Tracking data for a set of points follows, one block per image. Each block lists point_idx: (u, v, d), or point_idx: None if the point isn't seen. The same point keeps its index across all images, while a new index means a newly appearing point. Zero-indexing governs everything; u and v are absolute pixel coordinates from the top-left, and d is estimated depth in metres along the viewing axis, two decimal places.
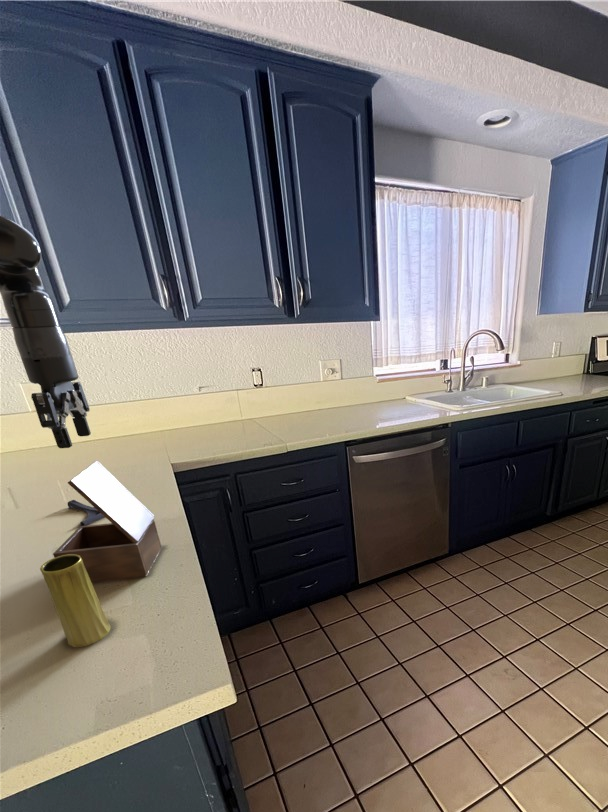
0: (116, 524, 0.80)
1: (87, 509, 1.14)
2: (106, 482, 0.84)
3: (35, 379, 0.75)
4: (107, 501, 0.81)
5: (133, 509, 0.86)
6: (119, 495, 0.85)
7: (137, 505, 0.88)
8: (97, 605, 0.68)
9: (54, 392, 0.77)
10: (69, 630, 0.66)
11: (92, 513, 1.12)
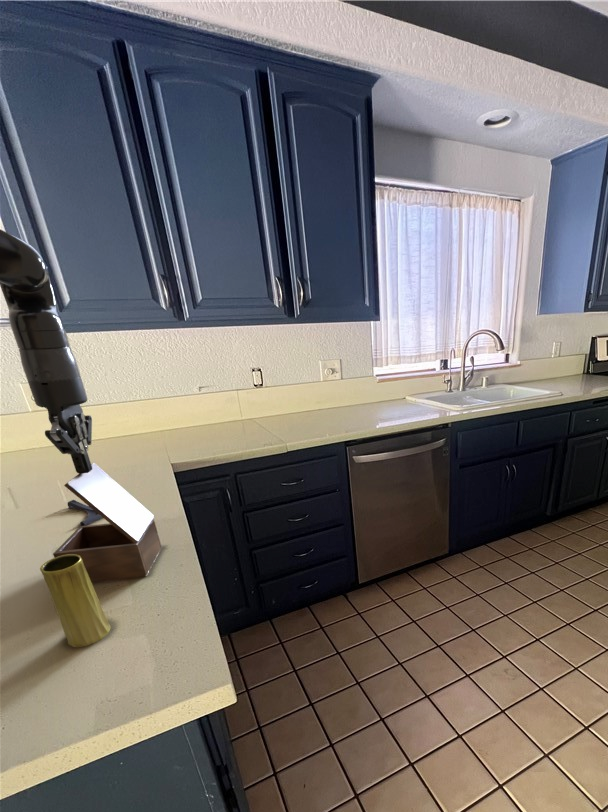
0: (115, 525, 0.80)
1: (87, 509, 1.14)
2: (104, 484, 0.84)
3: (42, 403, 0.71)
4: (105, 502, 0.81)
5: (132, 510, 0.86)
6: (118, 496, 0.85)
7: (136, 506, 0.88)
8: (97, 605, 0.68)
9: (63, 420, 0.72)
10: (69, 630, 0.66)
11: (92, 513, 1.12)
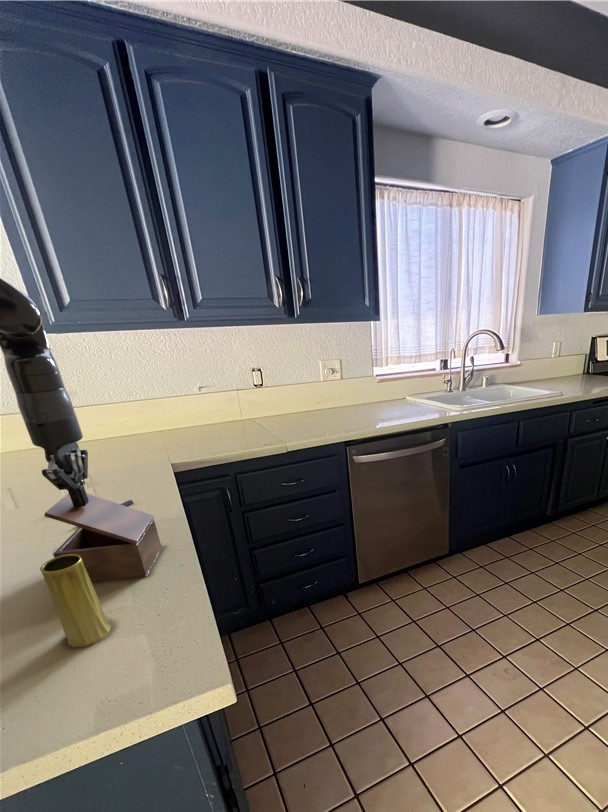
0: (108, 534, 0.80)
1: None
2: (88, 503, 0.85)
3: (38, 443, 0.73)
4: (92, 518, 0.81)
5: (126, 516, 0.87)
6: (107, 509, 0.86)
7: (130, 512, 0.89)
8: (97, 605, 0.68)
9: (59, 458, 0.75)
10: (69, 630, 0.66)
11: None
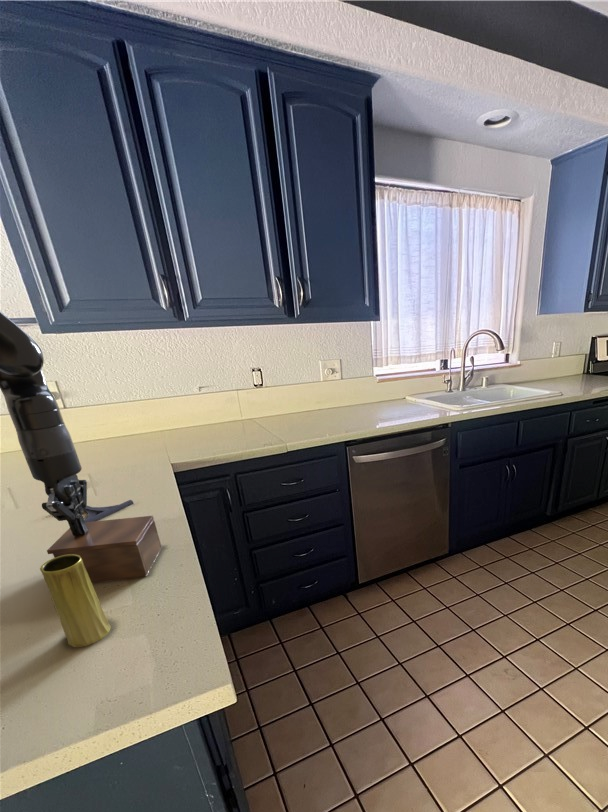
0: (108, 545, 0.81)
1: (87, 509, 1.14)
2: (88, 529, 0.87)
3: (39, 477, 0.76)
4: (92, 538, 0.83)
5: (124, 526, 0.88)
6: (106, 527, 0.87)
7: (129, 521, 0.89)
8: (97, 605, 0.68)
9: (58, 491, 0.77)
10: (69, 630, 0.66)
11: (92, 513, 1.12)
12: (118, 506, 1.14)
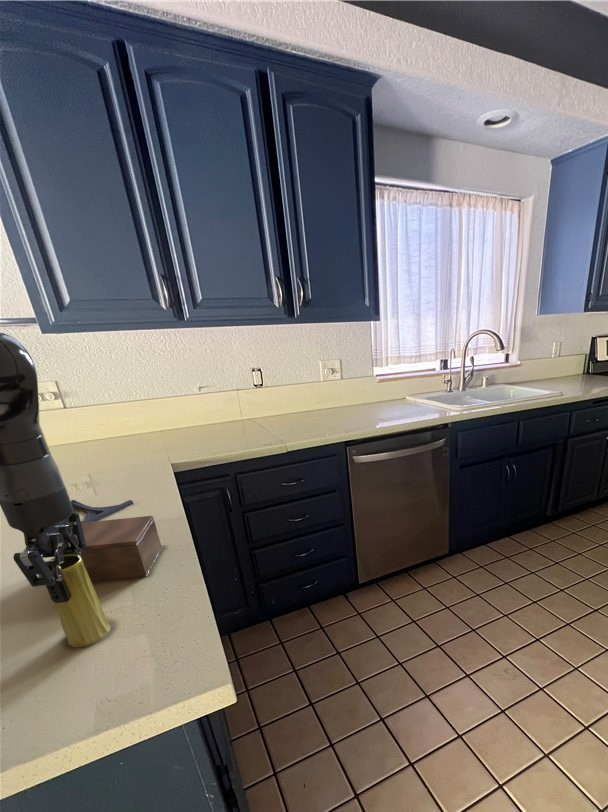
0: (108, 545, 0.81)
1: (87, 509, 1.14)
2: (88, 529, 0.87)
3: (16, 525, 0.57)
4: (92, 538, 0.83)
5: (124, 526, 0.88)
6: (106, 527, 0.87)
7: (129, 521, 0.89)
8: (97, 605, 0.68)
9: (42, 541, 0.59)
10: (69, 630, 0.66)
11: (92, 513, 1.12)
12: (118, 506, 1.14)
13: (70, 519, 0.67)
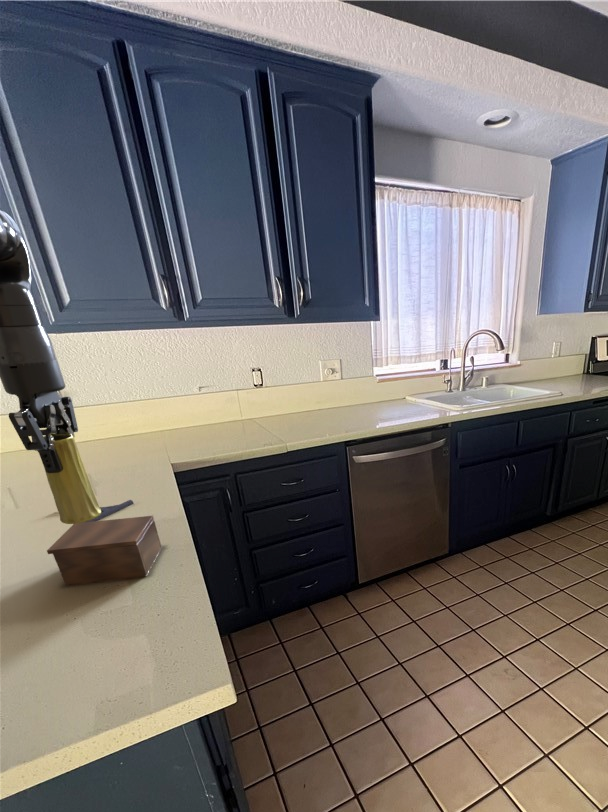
0: (108, 545, 0.81)
1: None
2: (88, 529, 0.87)
3: (12, 389, 0.62)
4: (92, 538, 0.83)
5: (124, 526, 0.88)
6: (106, 527, 0.87)
7: (129, 521, 0.89)
8: (88, 484, 0.73)
9: (35, 406, 0.63)
10: (61, 504, 0.71)
11: None
12: (118, 506, 1.14)
13: (63, 402, 0.72)
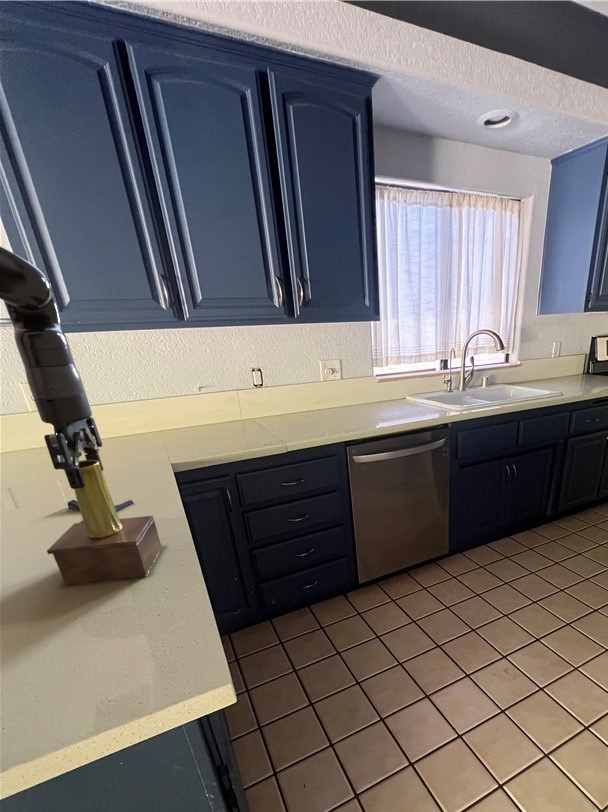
0: (108, 545, 0.81)
1: None
2: None
3: (48, 419, 0.72)
4: (92, 538, 0.83)
5: (124, 526, 0.88)
6: None
7: (129, 521, 0.89)
8: (111, 503, 0.84)
9: (67, 432, 0.73)
10: (89, 521, 0.82)
11: None
12: (118, 506, 1.14)
13: (87, 423, 0.82)
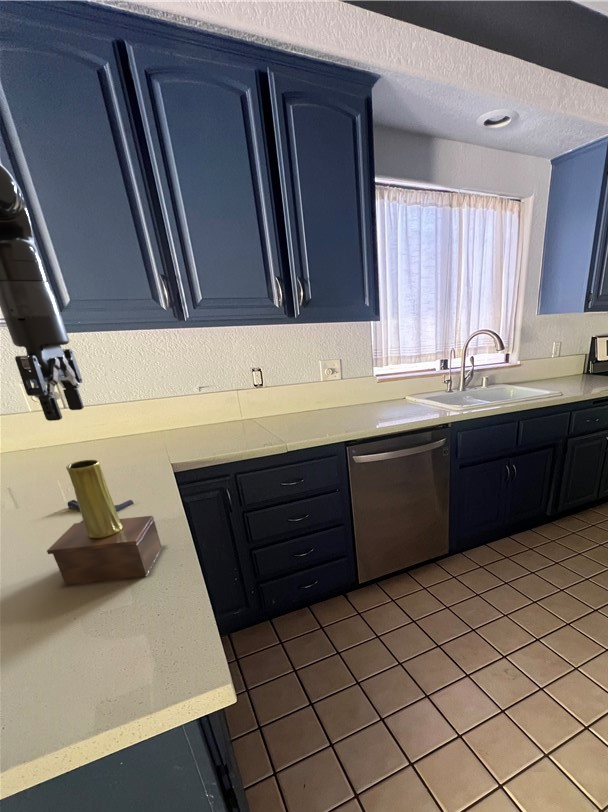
0: (108, 545, 0.81)
1: None
2: None
3: (20, 341, 0.67)
4: (92, 538, 0.83)
5: (124, 526, 0.88)
6: None
7: (129, 521, 0.89)
8: (111, 503, 0.84)
9: (41, 356, 0.68)
10: (89, 521, 0.82)
11: None
12: (118, 506, 1.14)
13: (65, 355, 0.76)
